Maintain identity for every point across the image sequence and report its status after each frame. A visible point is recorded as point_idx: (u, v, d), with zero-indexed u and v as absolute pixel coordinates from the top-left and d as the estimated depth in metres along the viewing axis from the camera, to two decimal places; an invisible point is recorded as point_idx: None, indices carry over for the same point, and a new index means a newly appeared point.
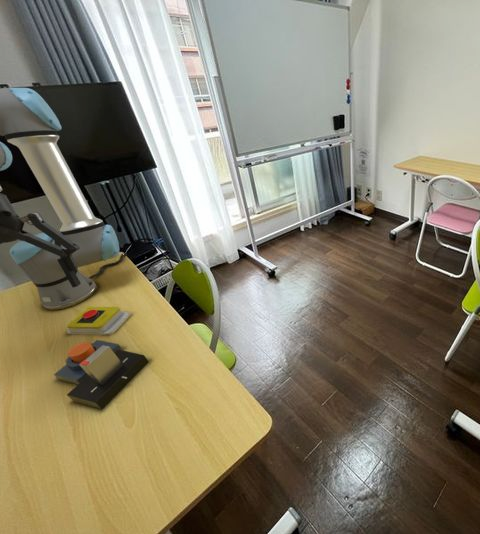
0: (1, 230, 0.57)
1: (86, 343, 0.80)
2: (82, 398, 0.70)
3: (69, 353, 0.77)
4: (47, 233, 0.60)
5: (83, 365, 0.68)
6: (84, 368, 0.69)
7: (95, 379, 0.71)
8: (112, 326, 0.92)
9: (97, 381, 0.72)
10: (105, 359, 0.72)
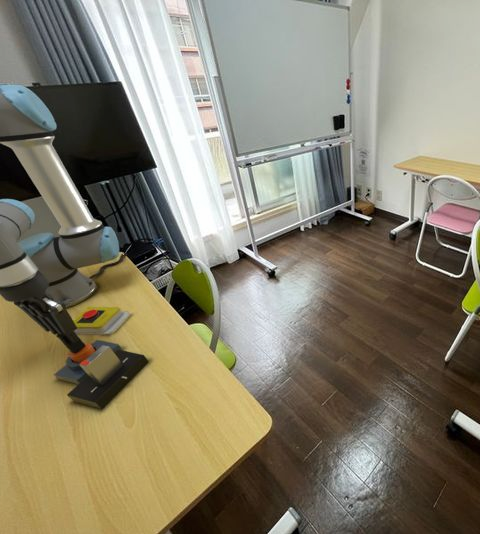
0: (31, 308, 0.67)
1: (86, 343, 0.80)
2: (82, 398, 0.70)
3: (69, 353, 0.77)
4: (55, 320, 0.69)
5: (83, 365, 0.68)
6: (84, 368, 0.69)
7: (95, 379, 0.71)
8: (112, 326, 0.92)
9: (97, 381, 0.72)
10: (105, 359, 0.72)
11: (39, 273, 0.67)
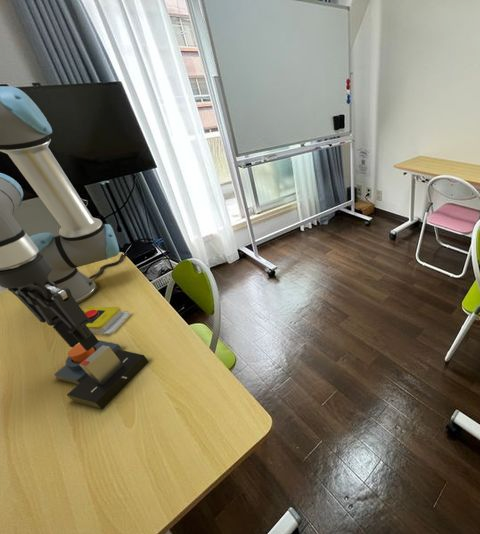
0: (32, 296, 0.57)
1: None
2: (82, 398, 0.70)
3: (69, 353, 0.77)
4: (62, 310, 0.59)
5: (83, 365, 0.68)
6: (84, 368, 0.69)
7: (95, 379, 0.71)
8: (112, 326, 0.92)
9: (97, 381, 0.72)
10: (105, 359, 0.72)
11: (40, 255, 0.57)
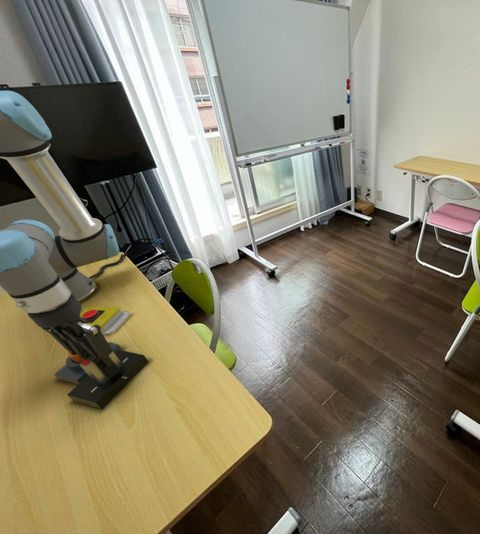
0: (65, 333, 0.63)
1: None
2: (82, 398, 0.70)
3: (69, 353, 0.77)
4: (91, 344, 0.66)
5: (83, 365, 0.68)
6: (84, 368, 0.69)
7: (96, 379, 0.71)
8: (112, 326, 0.92)
9: (98, 381, 0.72)
10: None
11: (72, 296, 0.63)
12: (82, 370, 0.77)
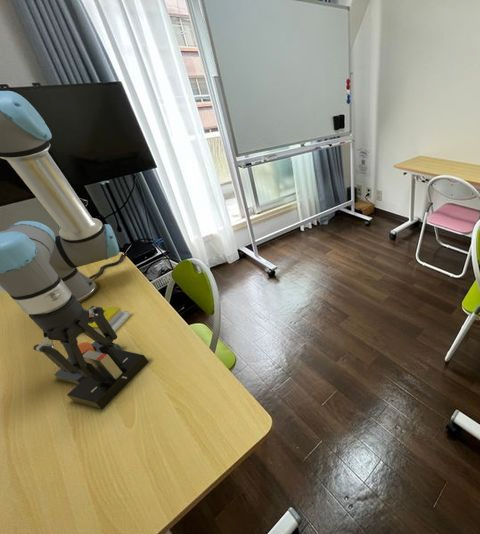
0: (82, 324, 0.66)
1: (86, 343, 0.80)
2: (82, 398, 0.70)
3: None
4: (104, 324, 0.71)
5: (103, 357, 0.70)
6: (105, 361, 0.71)
7: (116, 370, 0.73)
8: (112, 326, 0.92)
9: (117, 372, 0.74)
10: None
11: None
12: None
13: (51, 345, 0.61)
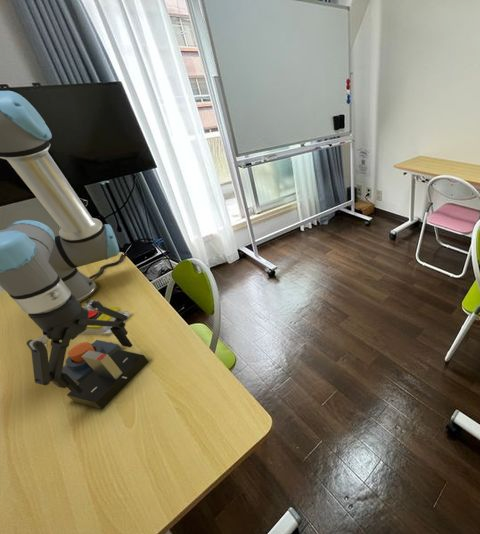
0: (83, 323, 0.66)
1: (86, 343, 0.80)
2: (82, 398, 0.70)
3: (69, 353, 0.77)
4: (108, 312, 0.72)
5: (103, 357, 0.70)
6: (105, 361, 0.71)
7: (116, 370, 0.73)
8: None
9: (117, 372, 0.74)
10: None
11: None
12: (82, 370, 0.77)
13: (45, 343, 0.60)
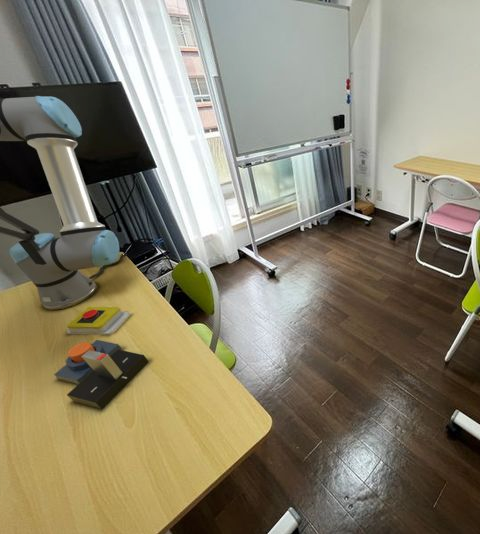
0: None
1: (86, 343, 0.80)
2: (82, 398, 0.70)
3: (69, 353, 0.77)
4: (12, 220, 0.68)
5: (103, 357, 0.70)
6: (105, 361, 0.71)
7: (116, 370, 0.73)
8: (112, 326, 0.92)
9: (117, 372, 0.74)
10: None
11: None
12: (82, 370, 0.77)
13: None
